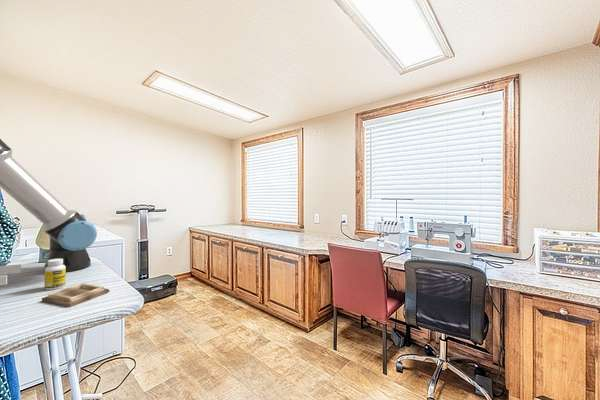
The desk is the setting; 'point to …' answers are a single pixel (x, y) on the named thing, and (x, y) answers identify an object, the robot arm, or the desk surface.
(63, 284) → the supplement bottle
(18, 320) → the desk surface
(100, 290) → the walnut board
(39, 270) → the desk surface
